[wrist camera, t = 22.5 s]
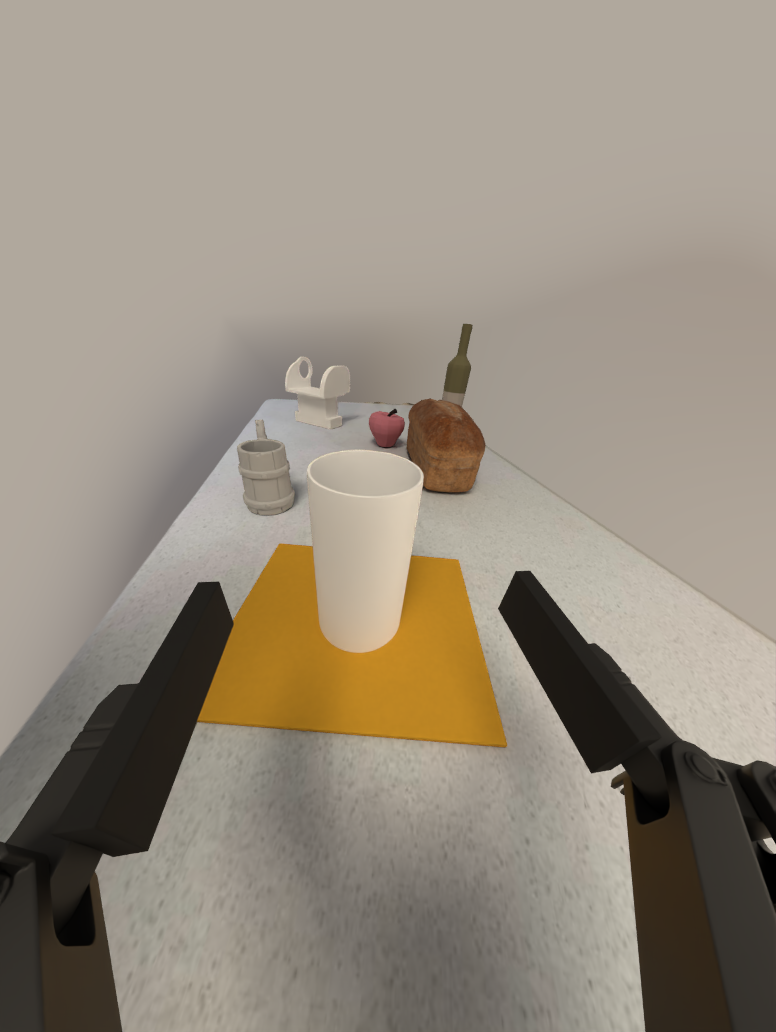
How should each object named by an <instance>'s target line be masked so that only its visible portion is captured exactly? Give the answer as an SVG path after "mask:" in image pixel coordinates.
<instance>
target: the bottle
mask: <svg viewBox="0 0 776 1032" xmlns="http://www.w3.org/2000/svg"><path fill="white" fill-rule="evenodd" d="M471 331H472V325H471V324H463V327H462V333H461V338H460V343H459V349H458V353H457V356H456V357H455V358H454V359H453V360H452V361H451V362H450V363H449V364H448V367H447V373H446V379H445V385H444V392H443V398H442V400H444V401H448V402H451V403H454V404H457V405H460V406H461V407H462V404H463V400H464V396H465V391H466V387H467V383H468V378H469V374H470V371H471V365H470V363H469V361H468V359H467V357H466V354H467V348H468V344H469V339H470V334H471Z"/></svg>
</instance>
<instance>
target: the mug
mask: <svg viewBox="0 0 776 1032" xmlns="http://www.w3.org/2000/svg"><path fill="white" fill-rule="evenodd" d="M255 423H256V431H257V438H258V439H257V440H252V441H251V440H249V441H246V442H243V443H241V444H239V445H238V446H237V450H238V456H239V462H240V463H239V466H238V468H239V472H240V474H241V475H242V479H243V485H244V490H245V492H244V494H243V499H244V502H245V504H246V505H247V506H248V509H249V510H250V511H251V512H252V513H255V514H259V515H275V514H279V513H282V512H285V511H286V510H287V509H289V508H291V507H292V506H293V503H294V501H293V499H294V496H295V493H294V489H293V488H292V486H291V482H290V476H289V469H290V466H289V462H288V460H287V458H286V452H285V446H284V444H283V443H282V442H280V441H277V440H272V439H267V436H266V434H265V428H264V422H263V420H255Z"/></svg>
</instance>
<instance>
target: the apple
mask: <svg viewBox="0 0 776 1032" xmlns="http://www.w3.org/2000/svg"><path fill="white" fill-rule="evenodd" d="M395 413H397V410H396V409H394V410H392V411H391V412H390V413H387V412H381V411H379V412H375V413H373V414H371V416H370V418H369V426H370V430H371V432H372V434H373V436H374V438H375V440H376V442H377V444H378V445H379V446H381V447H391V446H393V445H394V444H395V443H396V441H397V439H398V438H399V436H400V435H401V433H402V432H403V429H404V425H405V422H404V419H403V418H402V417H400V416H398V415H395Z"/></svg>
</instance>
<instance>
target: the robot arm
mask: <svg viewBox="0 0 776 1032" xmlns="http://www.w3.org/2000/svg"><path fill="white" fill-rule="evenodd" d="M498 609H499V611H500V613H501V615H502V616H503V618H504V620H505V622H506V624H507V625H508V627H509V629H510V631H511V632H512V634H513V636H514V638H515V639H516V641H517V643H518V645H519V647H520V648H521V650H522V652H523V654H524V655H525V657H526V659H527V661H528V662H529V664H530V666H531V668H532V669H533V671H534V673H535V675H536V677H537V678H538V680H539V682H540V684H541V685H542V687H543V689H544V691H545V692H546V694H547V696H548V698H549V700H550V701H551V703H552V705H553V707H554V708H555V710H556V712H557V714H558V715H559V717H560V719H561V721H562V723H563V724H564V726H565V728H566V730H567V731H568V733H569V735H570V737H571V738H572V740H573V742H574V744H575V746H576V747H577V749H578V751H579V753H580V754H581V756H582V758H583V760H584V761H585V763H586V765H587V767H588V768H589V770H590V772H591V773H596V772H601V771H607V770H611V769H613V768H615V767H616V766H618V765H619V764H622V766H623V767H624V769H625V770H626V771H624V772H622V773H621V774H619V775H617V776H616V777H615V778H614V779H612V782H611V787H612V788H614V789H616V788H618V787H619V786H621V785H623V784H624V788H622V790H621V791H620V793H621V794H623V795H625V805H626V817H627V828H628V839H629V851H630V862H631V873H632V885H633V896H634V907H635V919H636V930H637V941H638V953H639V964H640V975H641V987H642V998H643V1009H644V1021H645V1032H776V854H774V853H773V852H772V851H771V850H770V849H769V848H768V847H767V845H766V844H765V842H764V841H763V839H766V838H770V837H772V838H773V840H774V842H775V844H776V767H775V766H773V765H771V764H769V763H767V762H763V761H755V762H752V763H750V764H748V765H745V766H741V765H738V764H734V763H730V762H727V761H723V760H719V759H715V758H712V757H710V756H709V755H708V754H707V753H706V752H705V751H703V750H702V749H700V748H699V747H697V746H696V745H694V744H692V743H689V742H686V741H683V740H682V739H680V738H679V737H678V736H677V735H676V734H675V733H674V732H673V730H672V729H671V728H670V727H669V726H668V725H667V724H666V722H665V721H664V720H663V719H662V718H661V716H660V715H659V714H658V713H657V711H656V710H655V709H654V708H653V707H652V705H651V704H650V703H649V702H648V701H647V699H646V698H645V697H644V696H643V695H642V693H641V692H640V691H639V690H638V689H637V687H636V686H635V685H634V684H632V683H631V680H630V679H629V678H628V677H627V675H626V674H625V673H624V672H622V671H621V670H622V669H621V668H620V667H619V666H618V665H617V663H616V662H615V661H614V660H613V659H612V657H611V656H610V655H609V654H608V653H606V652H605V651H604V650H603V649H601V648H600V647H599V646H598V645H596V644H595V643H593V644H588V643H587V642H586V641H585V639H584V638H583V637H582V636H581V634H580V633H579V632H578V631H577V629H576V628H575V627H574V625H573V624H572V623H571V622H570V620H569V619H568V618H567V617H566V615H565V614H564V613H563V612H562V610H561V609H560V608H559V607H558V605H557V604H556V603H555V602H554V600H553V599H552V598H551V596H550V595H549V594H548V593H547V591H546V590H545V589H544V588H543V586H542V585H541V584H540V583H539V581H538V580H537V579H536V578H535V576H534V575H533V574H532V573H531V571H516V572H515V574H514V576H513V578H512V580H511V583H510V585H509V587H508V589H507V591H506V593H505V595H504V597H503V600H502V602H501V604H500V606H499V608H498ZM233 625H234V623H233V620H232V617H231V614H230V612H229V609H228V606H227V603H226V600H225V597H224V594H223V591H222V589H221V586H220V583H219V582H198V584H197V585H196V587H195V589H194V590H193V592H192V594H191V596H190V597H189V599H188V601H187V602H186V604H185V606H184V607H183V609H182V611H181V612H180V614H179V616H178V618H177V619H176V621H175V623H174V624H173V626H172V628H171V629H170V631H169V633H168V635H167V636H166V638H165V640H164V641H163V643H162V645H161V646H160V648H159V650H158V652H157V653H156V655H155V657H154V658H153V660H152V662H151V663H150V665H149V667H148V669H147V670H146V672H145V674H144V675H143V677H142V679H141V680H140V682H139V683H138V684H126V685H118V686H117V687H116V688H115V689H114V690H113V691H112V692H111V693H110V694H109V695H108V696H107V697H106V698H105V699H104V700H103V701H102V702H101V703H100V704H99V705H98V706H97V708H96V709H95V711H94V712H93V714H92V715H91V717H90V718H89V720H88V721H87V723H86V724H85V726H84V727H83V728H84V729H83V731H82V732H80V733H79V735H78V736H77V738H76V739H75V741H74V742H73V744H72V745H71V749H70V751H68V752H67V753H66V754H65V756H64V757H63V759H62V760H61V762H60V763H59V765H58V766H57V768H56V769H55V771H54V772H53V774H52V775H51V777H50V778H49V780H48V781H47V783H46V784H45V786H44V787H43V789H42V790H41V792H40V793H39V795H38V796H37V798H36V800H35V801H34V803H33V804H32V806H31V807H30V809H29V810H28V812H27V813H26V815H25V816H24V818H23V819H22V821H21V822H20V824H19V825H18V827H17V828H16V830H15V831H14V832H13V834H12V835H11V836H10V838H9V839H8V840H7V842H6V843H3V842H0V1032H122V1027H121V1020H120V1014H119V1008H118V1002H117V996H116V989H115V983H114V977H113V971H112V965H111V958H110V952H109V946H108V940H107V933H106V927H105V921H104V915H103V909H102V902H101V896H100V890H99V884H98V878H97V875H96V873H95V869H96V867H97V865H98V863H99V861H100V858H101V856H102V854H103V853H104V854H107V855H109V856H112V857H116V856H122V855H127V854H133V853H139V852H145V851H148V849H149V846H150V844H151V841H152V839H153V836H154V833H155V831H156V828H157V825H158V823H159V820H160V817H161V815H162V812H163V810H164V807H165V804H166V802H167V799H168V796H169V794H170V791H171V789H172V786H173V783H174V781H175V778H176V775H177V773H178V770H179V767H180V765H181V762H182V760H183V757H184V754H185V752H186V749H187V746H188V744H189V741H190V739H191V736H192V733H193V731H194V728H195V725H196V723H197V720H198V717H199V715H200V712H201V710H202V707H203V704H204V702H205V699H206V696H207V694H208V691H209V688H210V686H211V683H212V681H213V678H214V675H215V673H216V670H217V667H218V665H219V662H220V660H221V657H222V654H223V652H224V649H225V646H226V644H227V641H228V638H229V636H230V633H231V631H232V628H233Z"/></svg>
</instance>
